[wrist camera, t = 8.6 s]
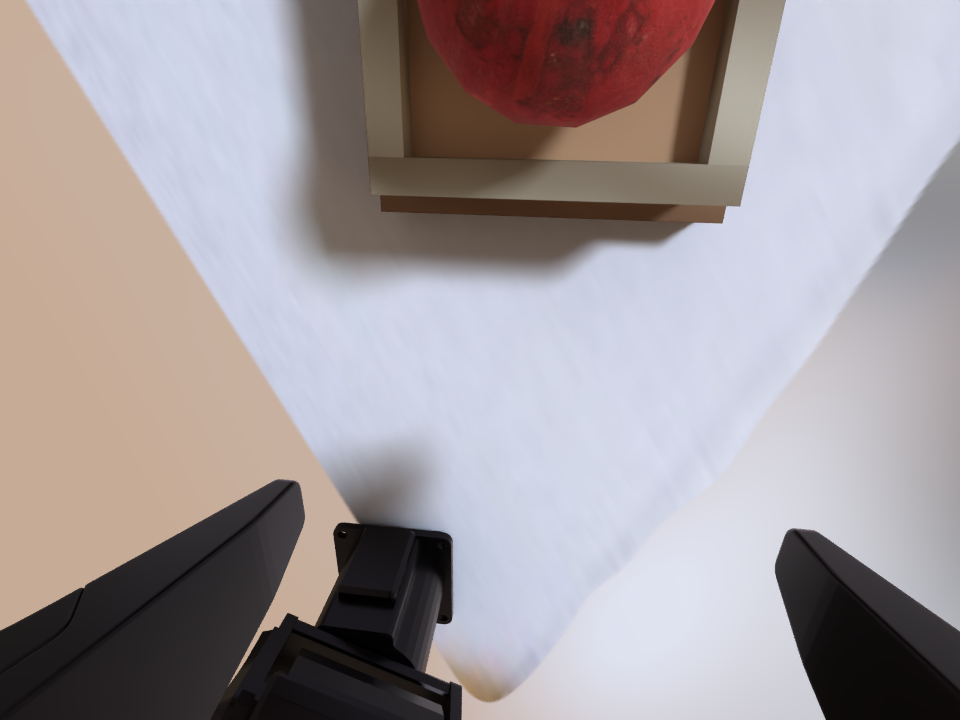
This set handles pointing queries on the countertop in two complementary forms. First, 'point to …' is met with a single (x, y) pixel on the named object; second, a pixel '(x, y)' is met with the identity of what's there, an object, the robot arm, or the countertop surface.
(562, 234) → the countertop surface
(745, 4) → the wooden tray on base
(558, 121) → the onion
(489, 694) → the countertop surface
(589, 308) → the countertop surface
